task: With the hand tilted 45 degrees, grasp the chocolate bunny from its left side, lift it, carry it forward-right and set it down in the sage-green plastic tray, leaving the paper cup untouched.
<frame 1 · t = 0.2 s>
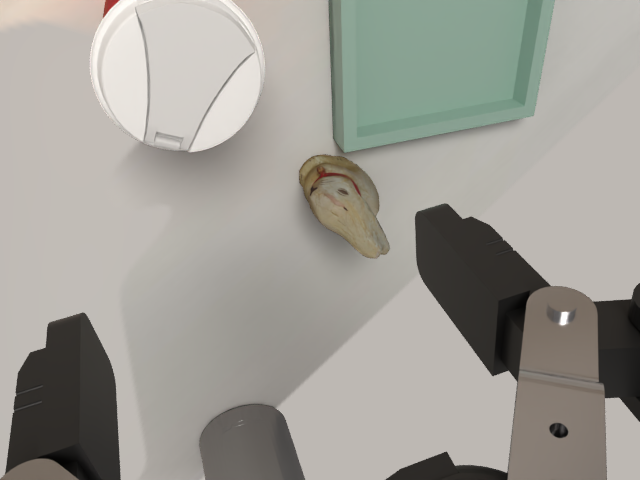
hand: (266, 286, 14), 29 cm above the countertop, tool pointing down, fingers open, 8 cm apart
tray: (436, 3, 42), on the countertop
paper cup: (155, 1, 37), on the countertop
chocolate bunny: (333, 181, 48), on the countertop
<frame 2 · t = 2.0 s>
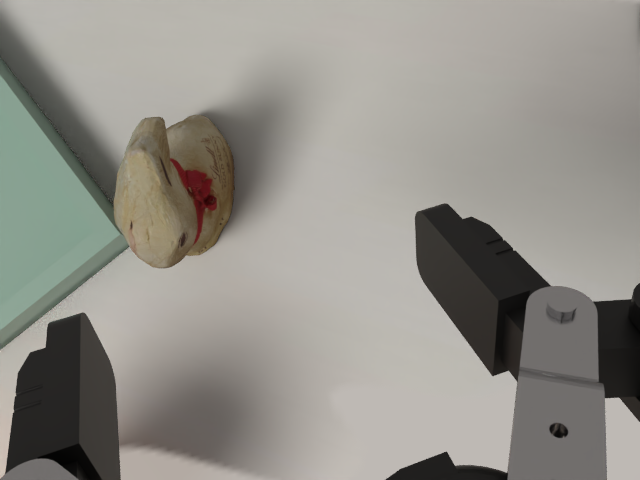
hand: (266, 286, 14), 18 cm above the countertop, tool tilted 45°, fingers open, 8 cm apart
chocolate bunny: (196, 194, 33), on the countertop
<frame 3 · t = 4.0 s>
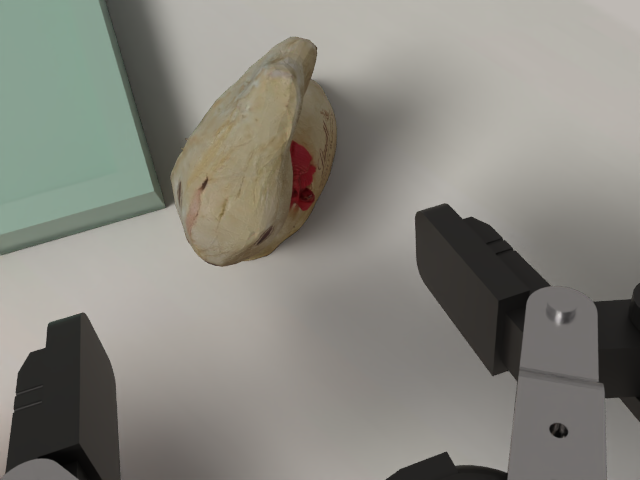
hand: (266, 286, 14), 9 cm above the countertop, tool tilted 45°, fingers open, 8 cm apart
chocolate bunny: (265, 180, 24), on the countertop
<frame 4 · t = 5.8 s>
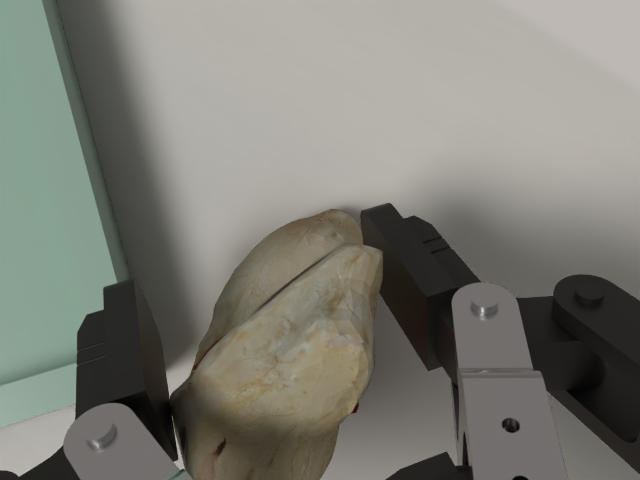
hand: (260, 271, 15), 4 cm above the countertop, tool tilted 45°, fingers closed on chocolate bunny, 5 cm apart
chocolate bunny: (284, 335, 19), on the countertop, touching gripper
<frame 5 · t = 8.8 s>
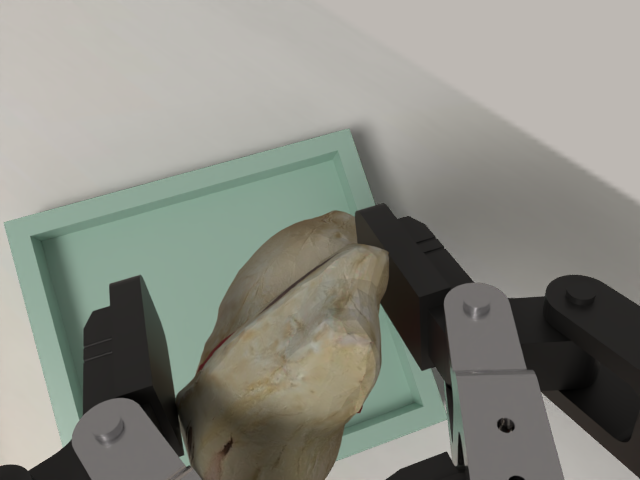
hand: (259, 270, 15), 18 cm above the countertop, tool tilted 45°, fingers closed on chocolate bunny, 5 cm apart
tray: (231, 324, 32), on the countertop
chocolate bunny: (288, 336, 19), point 13 cm above the countertop, touching gripper
when the fingers open (6 cm above the countertop, at t = 11.7 s): chocolate bunny drops 1 cm, resting on tray.
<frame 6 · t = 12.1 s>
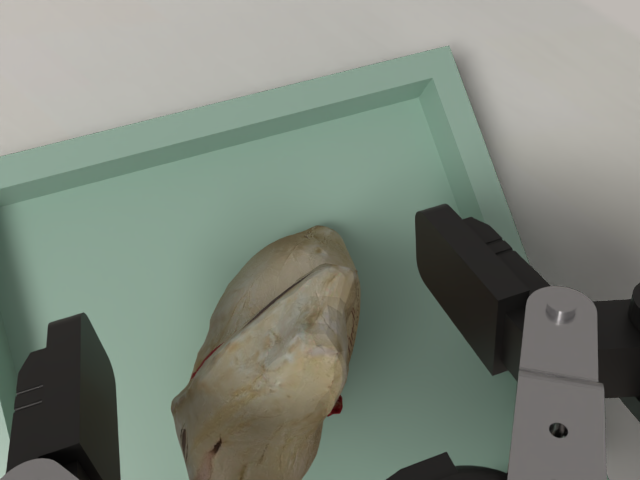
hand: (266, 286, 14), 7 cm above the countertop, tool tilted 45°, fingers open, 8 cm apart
tray: (269, 342, 21), on the countertop
chocolate bunny: (276, 343, 20), point 1 cm above the countertop, touching tray
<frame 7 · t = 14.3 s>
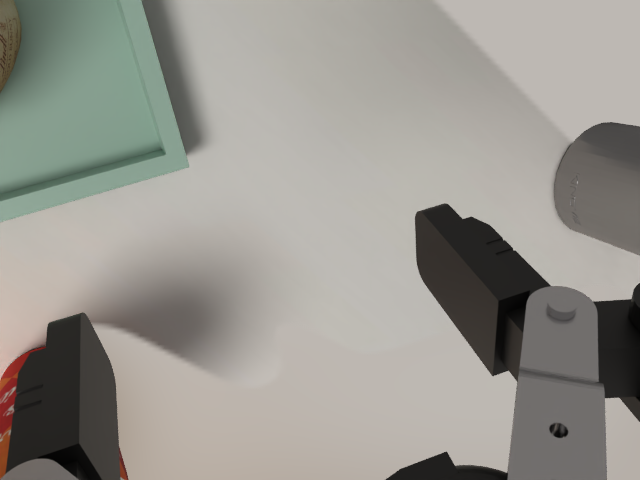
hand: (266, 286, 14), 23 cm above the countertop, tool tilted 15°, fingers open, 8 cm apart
paper cup: (49, 385, 36), on the countertop
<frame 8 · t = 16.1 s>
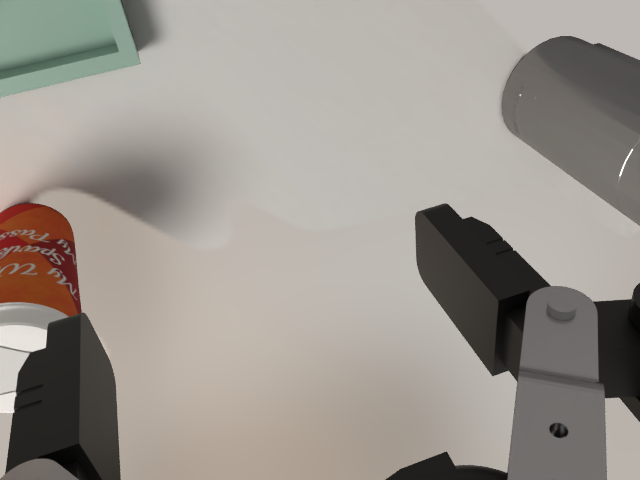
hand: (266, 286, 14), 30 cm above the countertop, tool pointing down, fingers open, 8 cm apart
paper cup: (31, 233, 44), on the countertop
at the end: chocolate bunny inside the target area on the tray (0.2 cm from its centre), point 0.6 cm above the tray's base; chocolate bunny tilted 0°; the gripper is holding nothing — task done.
